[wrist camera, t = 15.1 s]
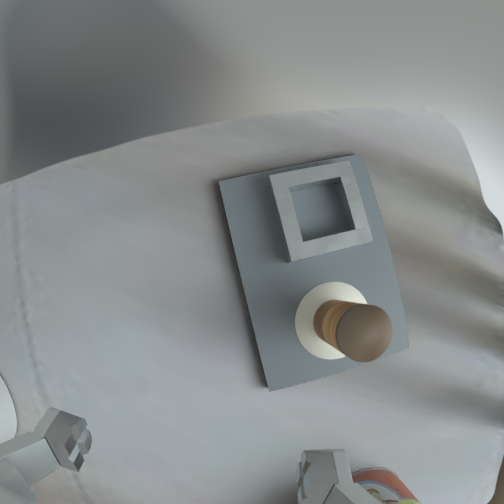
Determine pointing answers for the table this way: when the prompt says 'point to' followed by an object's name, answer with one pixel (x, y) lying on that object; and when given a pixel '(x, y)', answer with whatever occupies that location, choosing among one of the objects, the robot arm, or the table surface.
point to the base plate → (307, 273)
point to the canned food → (384, 486)
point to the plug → (354, 329)
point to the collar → (349, 204)
